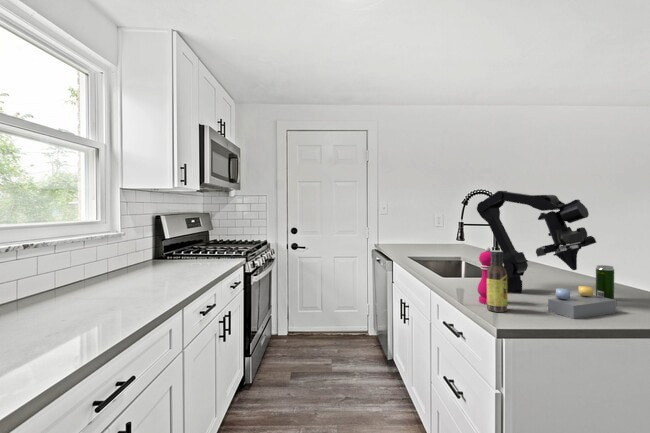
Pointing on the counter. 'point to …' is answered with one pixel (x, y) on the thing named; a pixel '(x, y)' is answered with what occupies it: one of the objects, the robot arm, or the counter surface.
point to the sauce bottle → (496, 283)
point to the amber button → (586, 291)
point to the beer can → (605, 281)
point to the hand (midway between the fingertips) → (574, 270)
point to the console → (582, 306)
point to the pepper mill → (484, 275)
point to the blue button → (563, 293)
